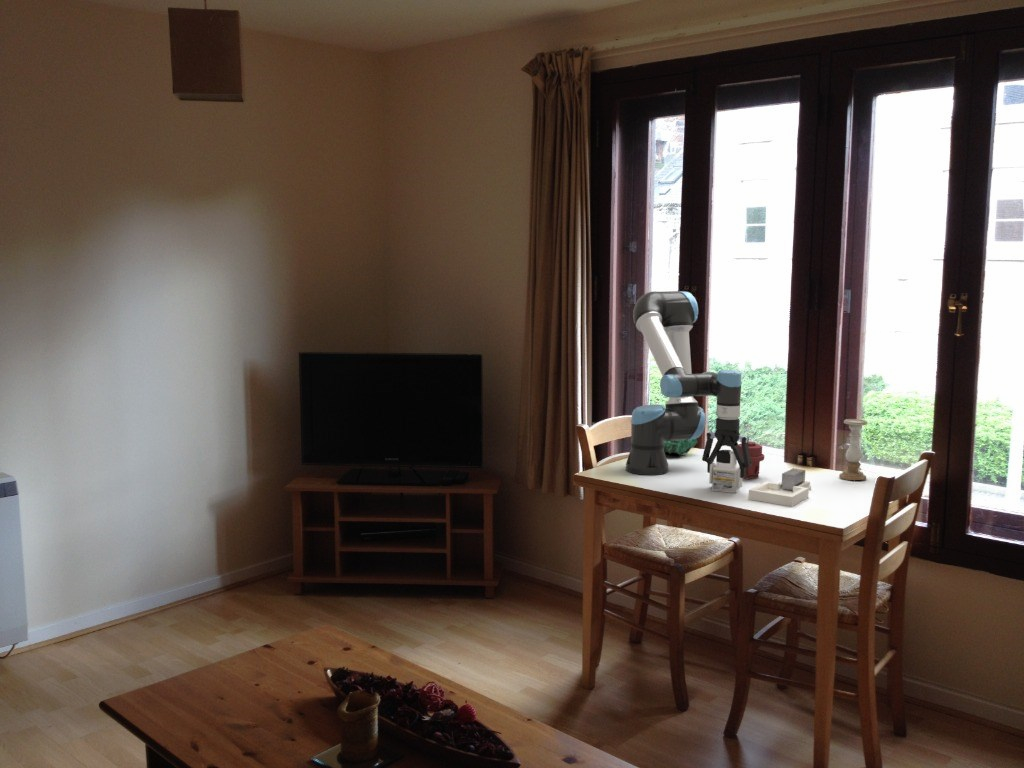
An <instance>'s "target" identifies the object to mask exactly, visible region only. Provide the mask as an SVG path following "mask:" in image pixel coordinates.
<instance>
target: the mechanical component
mask: <svg viewBox="0 0 1024 768" xmlns="http://www.w3.org/2000/svg"><path fill="white" fill-rule="evenodd" d="M738 445H739V449H740V451H741V454H742V456H743V451H742V445H741V443H738ZM748 447H749V452H750V458H751V463H752V465H751V466H750V467H746V473H745V477H744V478H743V480H749V479H759V474H760V462H763V461H764V460H765V455H764V453H763V446H762V444H758V443H756V442H754V441H748ZM743 459H744V457H743Z"/></svg>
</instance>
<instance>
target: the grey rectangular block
mask: <svg viewBox="0 0 1024 768" xmlns="http://www.w3.org/2000/svg"><path fill="white" fill-rule="evenodd" d="M781 482H782V489H787V490H793V487H794V486H798V485H800V484H802V483H804V482H806V469H802V468H794V467H792V468H791V469H789V470H786V471H784V472H783V473H782V474H781Z"/></svg>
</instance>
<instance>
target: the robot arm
mask: <svg viewBox="0 0 1024 768" xmlns="http://www.w3.org/2000/svg"><path fill="white" fill-rule="evenodd" d="M632 314H633V315H632V318H633V323H634V325H635V328H636V329H637V331H639V333H640V332H641V333H642V336H643V338H644V340H645V342H646V344H647V347H648V348H649V351H650V352H651V355H652V357H653V359H654V362H655V363H656V366H657V367H658V369H659V371H660V374H661V376H662V377H661V378H660V382H659V388H660V391H661V394H662V395H663V397H666V398H668V400H667V401H666V402H665V405H663V404H645V405H640V406H637V407H636V408H634V409H633V410H632V411H631V412H632V413H631V421H630V423H631V429H630V431H631V432H630V433H631V434H630V436H631V437H630V440H631V441H630V443H631V444H630V451H629V454H628V456H627V460H626V462H625V470H626V471H627V472H629V473H632V474H636V475H643V476H644V475H646V476H649V475H650V476H655V475H657V476H658V475H664V474H667V473H668V472H669V462H668V459H667V457H666V453H665V452H664V441H673V440H690V439H696V440H697V439H699V438H700V437H701V435H703V432H704V429H705V428H706V427H705V426H706V413H705V410H704V409H703V408H702V407H700V406H699V402H698V401H697V400H696V398H694V397H711V396H712V397H715V398H716V412H715V413H716V414H715V415H716V419H715V432H713V431H709V432H706V442H705V445H704V450H703V454H702V457H701V460H702V461H703V462H706V464H707V470H706V472H707V473H708V474H709V478H708V479H709V480H708V481H709V484H711V485H712V480H713V468H714V466H715V465H716V462H715V460H716V456H717V452H718V451H720V450H722V449H721V448H722V447H725V446H727V447H729V448H730V450H732V451H733V452H734V454H735V457H736V459H737V465H739V466H740V468H737V488H738V489H740V488H743V480H744V477H745V473H746V467H750V466H751V465H752V463H751V458H750V452H749V447H748V442H749V439H750V438H749V436H747V435H746V436H745V435H741V434H740V429H741V428H740V423H741V420H740V417H741V399H742V397H741V395H742V373H741V372H740V371H739V370H734V369H721V370H718V372H717V373H715V372H713V371H712V372H710V371H706V372H702V373H692V361H691V360H692V359H691V345H690V331H692V329H693V327H694V325H693V324H694V323H696V321H697V320H698V317H699V316H698V315H699V306H698V302H697V300H696V298H695V296H693V294H692V293H691V292H689V291H680V290H674V291H673V290H671V291H655V290H654V291H649V292H647V293H645V294H643V295H641V296H640V297H639V298H638V299H637V301H636V303H635V305H634V307H633V310H632ZM715 438H716V440H717V441H716V443H715V446H714V448H713V450H712V447H713V443H714V439H715ZM738 441H739V442H740V444H741V445H742V451H743V456H742V454H741V451H740V449H739V445H738V444H739V442H738ZM743 457H744V459H743Z"/></svg>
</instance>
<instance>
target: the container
mask: <svg viewBox="0 0 1024 768" xmlns="http://www.w3.org/2000/svg"><path fill="white" fill-rule="evenodd" d="M715 460H716V462H715V463H716V465H715V466H714V468H713V480H712V484H711V490H712V491H713V492H722V493H730V494H736V493H737V492H738V489H739V488H737V468H740V466H739V464H738V462H737V459H736V457H735V454H734V452H733V450H732V449H720V450H719V451H718V452H717V456H716V458H715Z"/></svg>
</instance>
